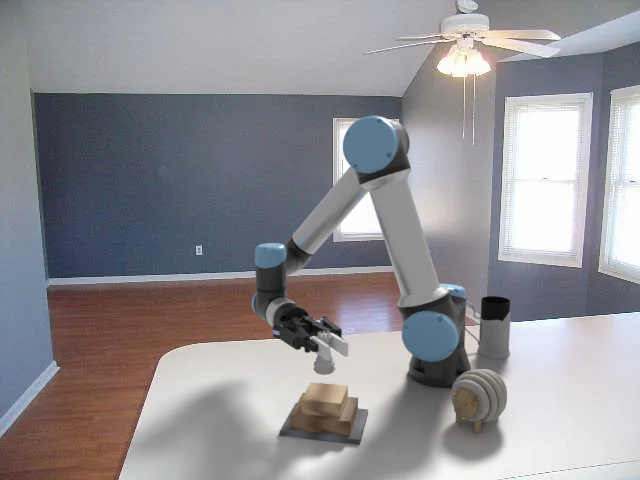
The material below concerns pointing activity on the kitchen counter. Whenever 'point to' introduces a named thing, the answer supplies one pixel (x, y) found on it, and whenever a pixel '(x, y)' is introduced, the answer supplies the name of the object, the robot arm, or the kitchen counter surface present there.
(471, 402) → the toy sheep
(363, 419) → the plinth
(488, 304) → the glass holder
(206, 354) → the kitchen counter surface
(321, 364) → the rook chess piece
